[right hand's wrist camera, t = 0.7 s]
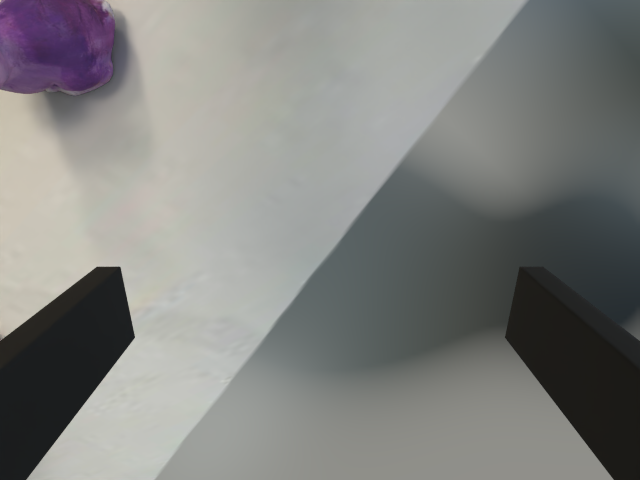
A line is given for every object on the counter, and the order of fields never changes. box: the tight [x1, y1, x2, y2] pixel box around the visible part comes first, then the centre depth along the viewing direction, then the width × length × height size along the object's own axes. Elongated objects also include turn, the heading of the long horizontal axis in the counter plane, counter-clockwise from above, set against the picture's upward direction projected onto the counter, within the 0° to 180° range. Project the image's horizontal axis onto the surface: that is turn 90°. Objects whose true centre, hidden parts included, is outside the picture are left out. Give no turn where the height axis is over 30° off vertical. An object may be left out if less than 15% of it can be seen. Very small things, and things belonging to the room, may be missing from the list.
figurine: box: [0, 0, 115, 96], centre depth 28 cm, size 9×10×15 cm
